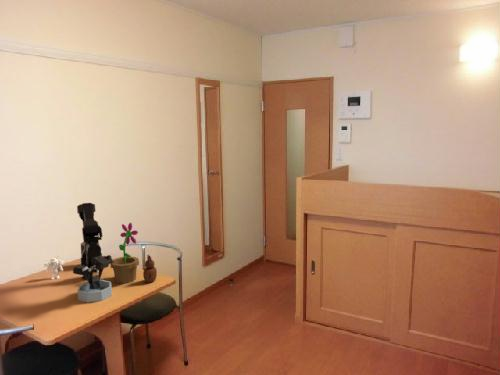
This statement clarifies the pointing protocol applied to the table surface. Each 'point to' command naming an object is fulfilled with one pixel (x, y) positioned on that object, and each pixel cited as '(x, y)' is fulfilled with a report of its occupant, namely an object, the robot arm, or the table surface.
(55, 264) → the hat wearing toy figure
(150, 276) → the wooden figurine
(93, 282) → the battery cell
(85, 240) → the robot arm
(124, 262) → the flowerpot
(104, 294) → the ceramic bowl
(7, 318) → the table surface
